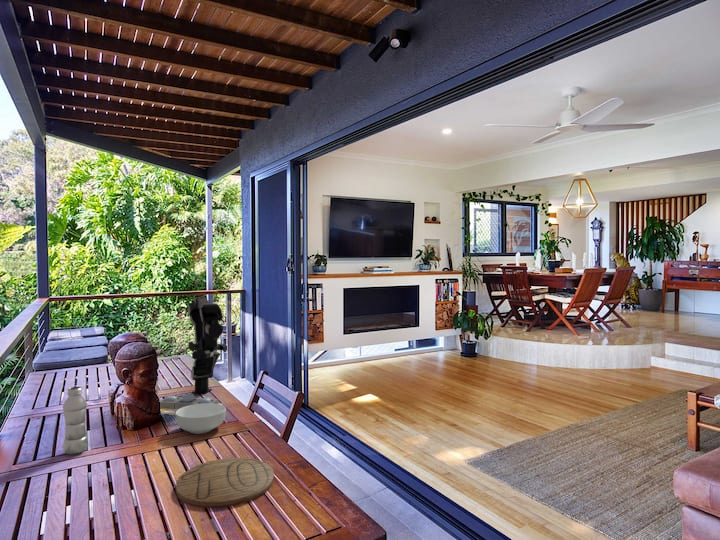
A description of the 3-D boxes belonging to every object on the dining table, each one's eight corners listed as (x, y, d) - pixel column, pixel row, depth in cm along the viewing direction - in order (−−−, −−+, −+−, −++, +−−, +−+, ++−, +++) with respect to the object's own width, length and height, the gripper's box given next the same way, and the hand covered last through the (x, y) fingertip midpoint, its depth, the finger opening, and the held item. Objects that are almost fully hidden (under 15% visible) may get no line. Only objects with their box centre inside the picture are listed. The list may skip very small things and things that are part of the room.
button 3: (203, 404, 187) (203, 397, 187) (213, 405, 186) (213, 397, 186) (197, 408, 183) (197, 400, 183) (207, 408, 182) (207, 401, 182)
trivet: (177, 519, 107) (177, 510, 107) (174, 473, 130) (173, 466, 130) (284, 496, 117) (284, 489, 117) (263, 458, 140) (263, 451, 140)
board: (169, 402, 194) (169, 394, 194) (223, 405, 190) (223, 397, 190) (148, 413, 180) (148, 405, 180) (205, 417, 176) (205, 408, 176)
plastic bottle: (62, 458, 139) (61, 392, 139) (64, 450, 145) (63, 387, 145) (87, 454, 142) (86, 389, 142) (88, 446, 148) (87, 384, 148)
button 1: (169, 402, 190) (169, 395, 190) (179, 403, 189) (179, 395, 189) (162, 405, 186) (162, 398, 186) (172, 406, 185) (172, 399, 185)
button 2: (186, 400, 189) (186, 393, 189) (196, 401, 188) (195, 393, 188) (179, 403, 184) (179, 396, 184) (190, 404, 183) (190, 396, 183)
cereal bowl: (235, 429, 164) (235, 409, 163) (190, 442, 151) (190, 421, 151) (210, 418, 175) (210, 399, 175) (166, 430, 163) (166, 410, 163)
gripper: (203, 330, 204) (204, 365, 204) (179, 337, 186) (180, 376, 186) (227, 330, 202) (227, 366, 202) (205, 338, 184) (205, 377, 184)
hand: (210, 371), depth 194 cm, fingers closed
